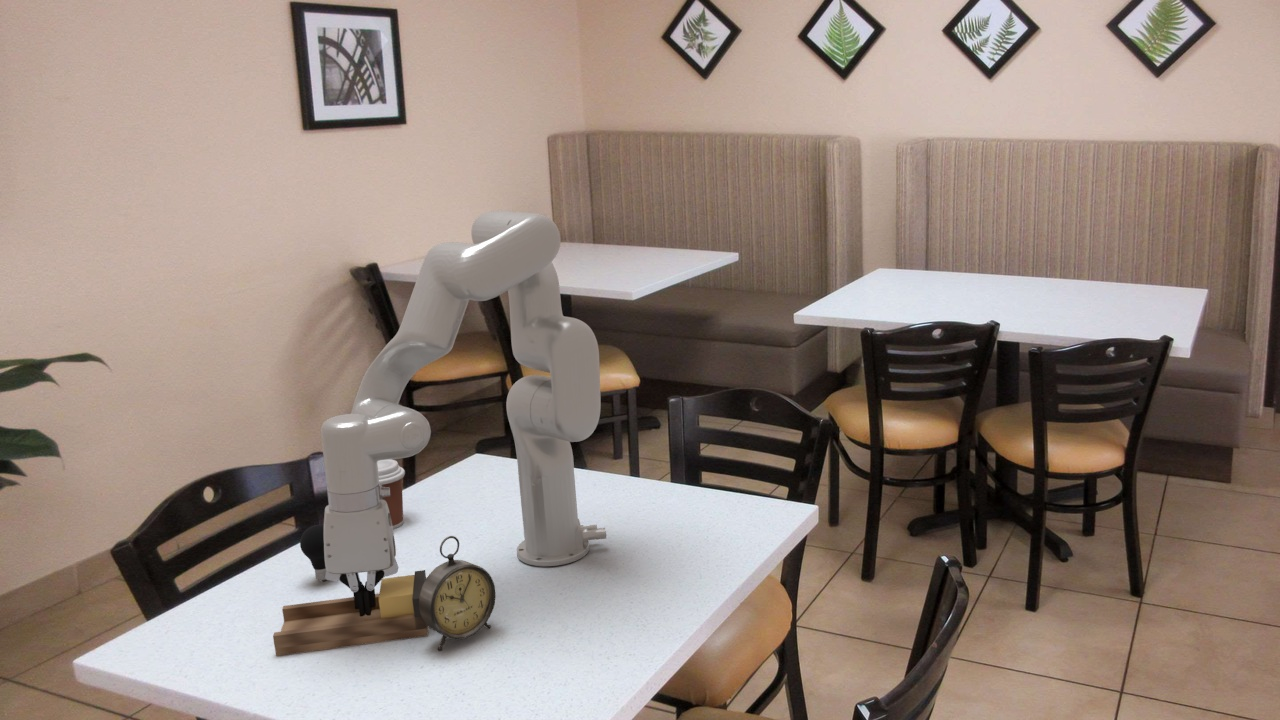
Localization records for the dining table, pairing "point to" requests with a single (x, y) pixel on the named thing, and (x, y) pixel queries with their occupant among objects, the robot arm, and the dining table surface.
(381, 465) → the coffee cup
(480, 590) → the alarm clock
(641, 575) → the dining table surface
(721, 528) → the dining table surface
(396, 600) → the block
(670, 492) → the dining table surface
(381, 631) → the wooden tray
